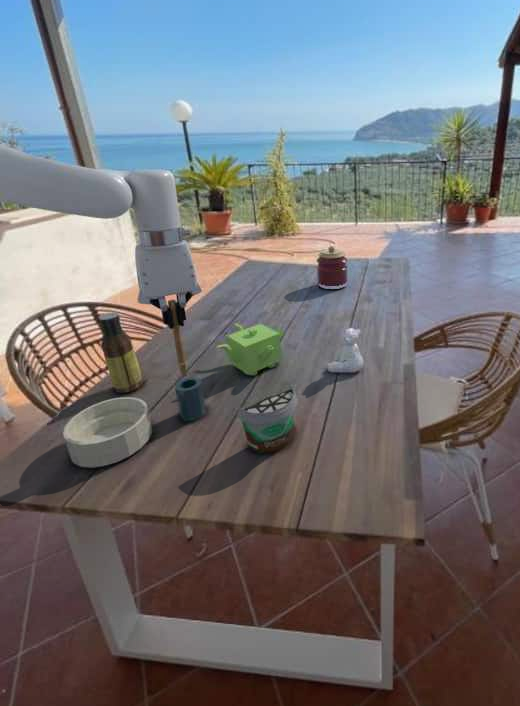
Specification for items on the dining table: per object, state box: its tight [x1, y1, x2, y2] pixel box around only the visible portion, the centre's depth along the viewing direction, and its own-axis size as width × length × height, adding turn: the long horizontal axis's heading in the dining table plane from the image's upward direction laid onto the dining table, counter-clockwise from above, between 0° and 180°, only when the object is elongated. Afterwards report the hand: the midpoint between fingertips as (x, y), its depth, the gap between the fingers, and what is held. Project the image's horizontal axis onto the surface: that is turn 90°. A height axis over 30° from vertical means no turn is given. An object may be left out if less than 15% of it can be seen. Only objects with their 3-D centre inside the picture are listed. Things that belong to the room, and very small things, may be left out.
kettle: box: [216, 322, 286, 377], centre depth 105 cm, size 15×14×11 cm
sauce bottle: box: [98, 312, 143, 394], centre depth 94 cm, size 7×6×20 cm
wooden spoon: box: [167, 299, 188, 378], centre depth 81 cm, size 1×3×17 cm, turn 35°
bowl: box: [62, 396, 153, 469], centre depth 78 cm, size 14×14×6 cm
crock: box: [174, 376, 207, 423], centre depth 86 cm, size 5×5×8 cm
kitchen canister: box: [316, 245, 348, 286], centre depth 166 cm, size 13×13×18 cm
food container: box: [236, 384, 298, 454], centre depth 77 cm, size 12×6×10 cm, turn 129°
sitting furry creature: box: [327, 327, 365, 374], centre depth 104 cm, size 10×9×12 cm
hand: (175, 324), depth 80 cm, fingers closed on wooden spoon, 1 cm apart
